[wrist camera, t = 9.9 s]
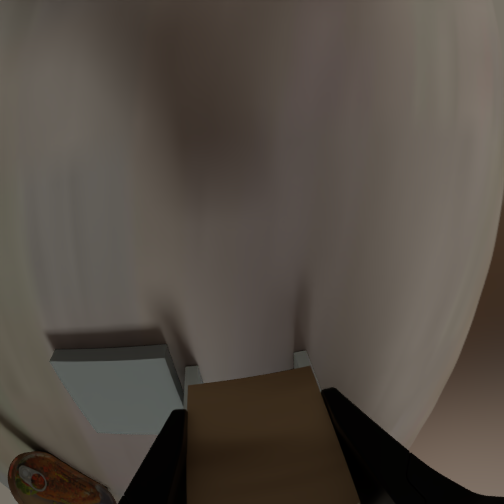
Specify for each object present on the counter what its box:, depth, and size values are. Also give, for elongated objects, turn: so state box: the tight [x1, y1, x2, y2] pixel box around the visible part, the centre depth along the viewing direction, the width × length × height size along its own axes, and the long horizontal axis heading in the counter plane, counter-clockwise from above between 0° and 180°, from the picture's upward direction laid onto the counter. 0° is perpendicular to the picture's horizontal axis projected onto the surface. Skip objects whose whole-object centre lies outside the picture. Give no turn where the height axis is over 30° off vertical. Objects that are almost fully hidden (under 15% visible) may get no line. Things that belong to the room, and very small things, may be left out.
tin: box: [8, 451, 117, 504], centre depth 21 cm, size 15×3×8 cm, turn 27°
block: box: [186, 366, 360, 504], centre depth 8 cm, size 4×4×5 cm
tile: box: [49, 344, 184, 434], centre depth 18 cm, size 8×8×1 cm
